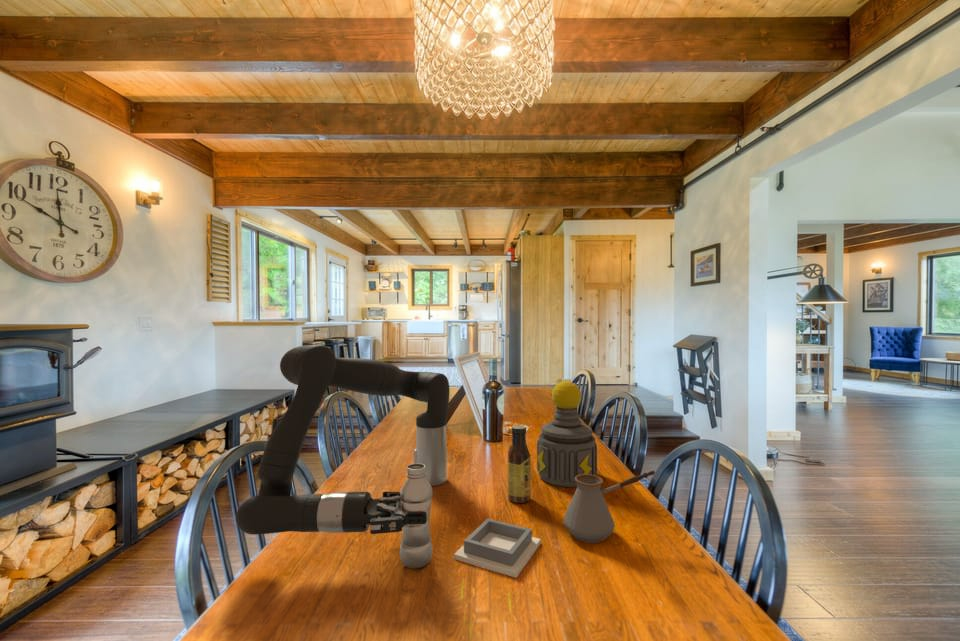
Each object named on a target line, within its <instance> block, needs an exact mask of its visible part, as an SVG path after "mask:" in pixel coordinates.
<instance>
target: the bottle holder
mask: <svg viewBox="0 0 960 641" xmlns="http://www.w3.org/2000/svg"><path fill="white" fill-rule="evenodd" d="M541 543H542V539H541V538H538V537H534V536H533V529H532V528H528V527H523V526H520V525H516V524H513V523H508V522H504V521H499V520H495V519H491V518H486V519H485V520H484V521H483V522H482V523H481V524H480V525H479V526H478V527H477V528H476V529H474V531H472V532H471V533H470V534H469V535H468V536H467V537H466V538H465V539H463V545H462V546H461V547H460V548H459V549H458V550H457V551H456V552H455V553H454V554H453V560H456V561H460V562H462V563H466V564H468V565H469V564H470V565H472V566H476V567H479V568H483V569H485V570H489V571H491V572H492V571H493V572H495V573H499V574H501V575H505V576H509V577H512V578H516V579H517V577H518V576H519V575H520V574H521V573H522V570H523V569H524V568H525V566H526V565H527V563H528V562H529V561H530V559H531V558H532V556H533V555H534V554H535V552H536V551H537V549H538V548H539V546H540V545H541Z"/></svg>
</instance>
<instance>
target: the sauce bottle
mask: <svg viewBox="0 0 960 641" xmlns="http://www.w3.org/2000/svg"><path fill="white" fill-rule="evenodd" d="M526 433H527V427H526V426H525V425H513V426H511V438H512V439H511V445H510V446H509V447H508V450H507V495H508V496H507V497H508V500H509V501H510V502H512V503H515V504H516V503H517V504H518V503H519V504H523V503H526V502H528V501H529V500H530V499H531V454H530V451H529V448H528V445H527V441H526V440H527V438H526V435H527V434H526Z"/></svg>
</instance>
